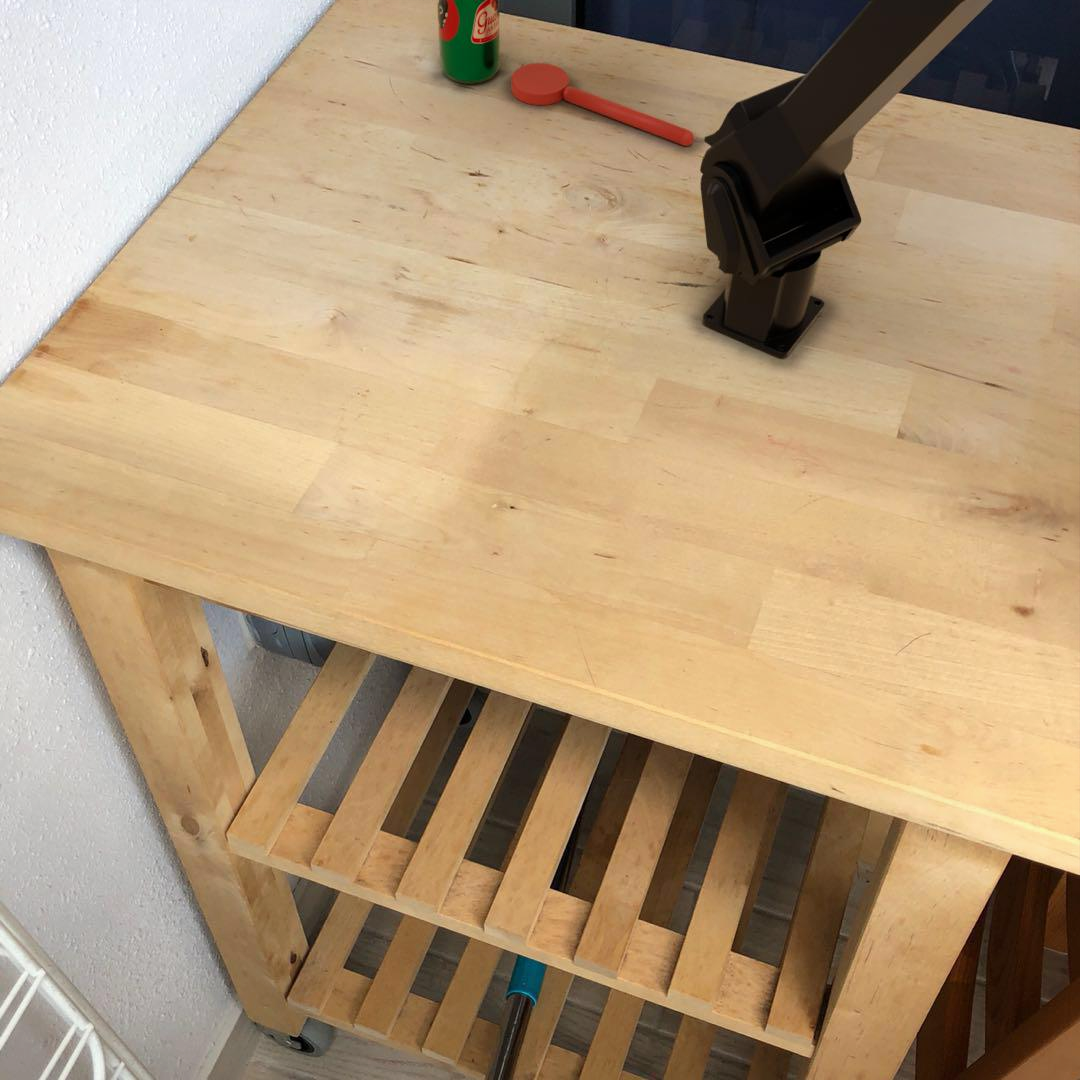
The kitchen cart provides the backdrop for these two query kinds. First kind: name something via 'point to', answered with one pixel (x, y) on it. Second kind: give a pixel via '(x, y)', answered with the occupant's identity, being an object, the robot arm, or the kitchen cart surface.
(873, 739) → the kitchen cart surface
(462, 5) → the soda can
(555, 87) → the spoon
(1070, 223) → the kitchen cart surface
